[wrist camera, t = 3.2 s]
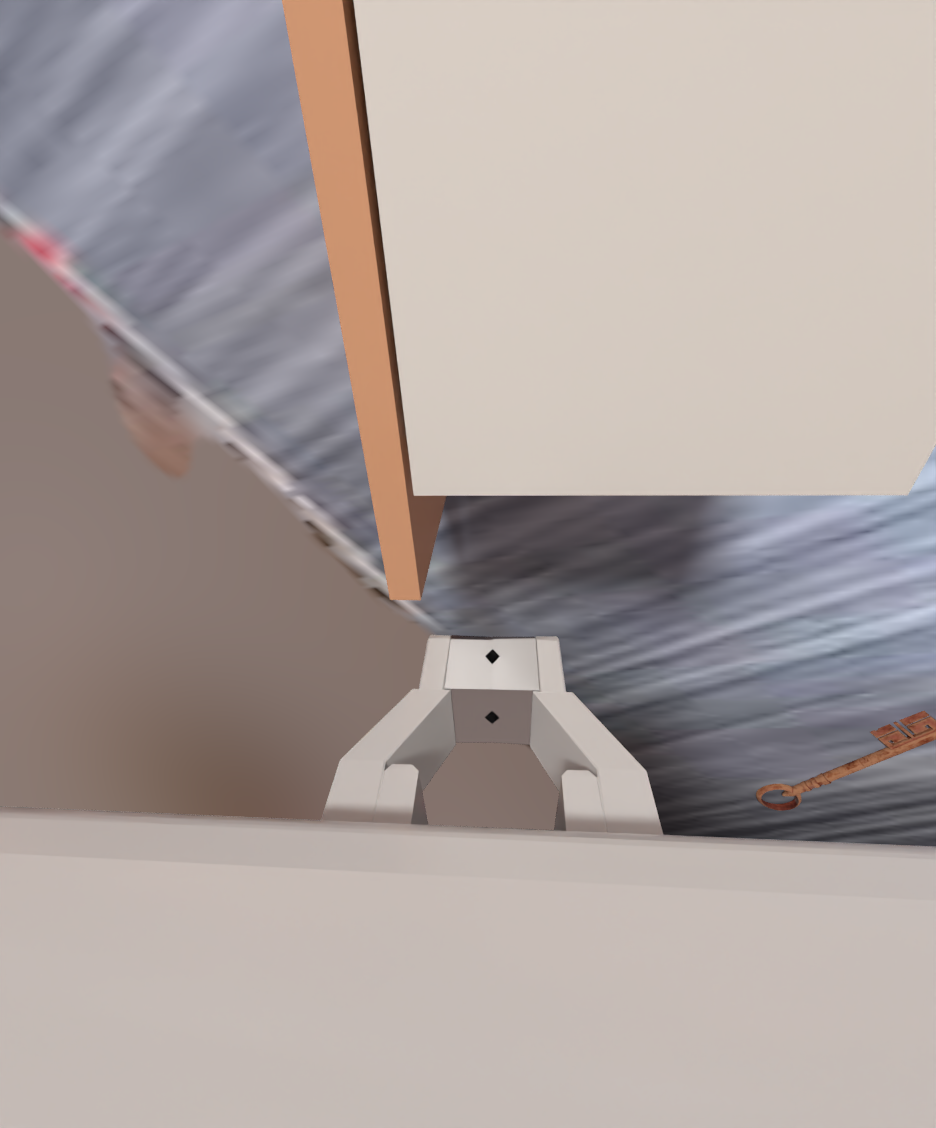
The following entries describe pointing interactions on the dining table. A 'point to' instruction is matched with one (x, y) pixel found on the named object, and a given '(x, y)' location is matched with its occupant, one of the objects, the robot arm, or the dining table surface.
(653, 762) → the dining table surface
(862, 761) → the key
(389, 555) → the hatch
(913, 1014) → the robot arm
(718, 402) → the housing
